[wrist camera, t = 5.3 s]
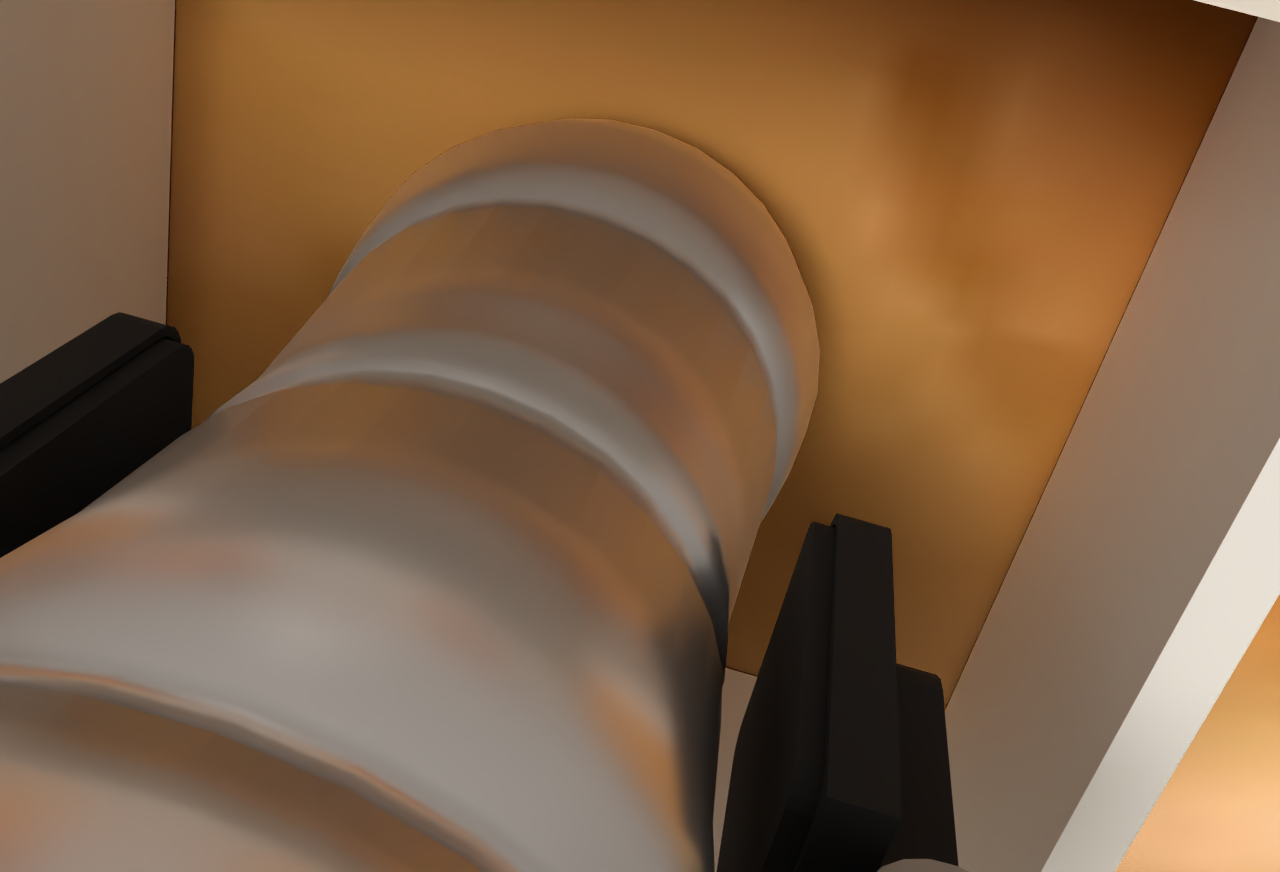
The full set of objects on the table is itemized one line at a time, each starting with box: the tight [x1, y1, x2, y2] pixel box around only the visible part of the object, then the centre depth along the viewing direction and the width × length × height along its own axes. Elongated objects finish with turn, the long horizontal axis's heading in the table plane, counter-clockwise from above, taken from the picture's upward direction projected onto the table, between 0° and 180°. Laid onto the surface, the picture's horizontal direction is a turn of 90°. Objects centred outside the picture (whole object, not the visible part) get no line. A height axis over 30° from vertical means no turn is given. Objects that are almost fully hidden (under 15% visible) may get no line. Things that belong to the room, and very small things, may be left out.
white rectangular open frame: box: [0, 0, 1280, 872], centre depth 14 cm, size 15×17×10 cm
